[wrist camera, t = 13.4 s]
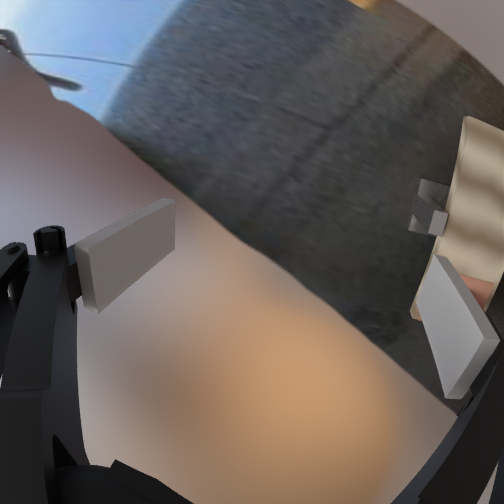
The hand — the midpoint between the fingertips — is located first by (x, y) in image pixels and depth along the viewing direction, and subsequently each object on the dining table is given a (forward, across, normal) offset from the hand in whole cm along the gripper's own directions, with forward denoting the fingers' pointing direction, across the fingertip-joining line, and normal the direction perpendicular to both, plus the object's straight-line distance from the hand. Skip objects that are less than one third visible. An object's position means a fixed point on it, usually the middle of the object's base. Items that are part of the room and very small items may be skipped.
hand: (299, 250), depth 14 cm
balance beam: (+24, +23, -2) cm, 33 cm away
